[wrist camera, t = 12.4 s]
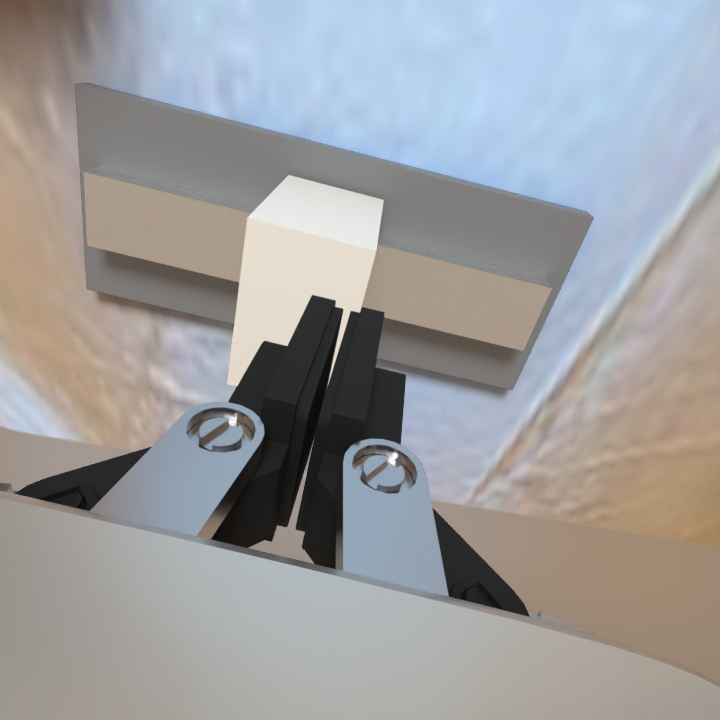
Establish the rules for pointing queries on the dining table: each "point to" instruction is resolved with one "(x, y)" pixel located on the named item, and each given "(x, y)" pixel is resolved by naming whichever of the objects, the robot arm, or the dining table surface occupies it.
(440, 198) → the mounting plate
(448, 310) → the rail
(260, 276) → the block
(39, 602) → the robot arm
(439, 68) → the dining table surface
